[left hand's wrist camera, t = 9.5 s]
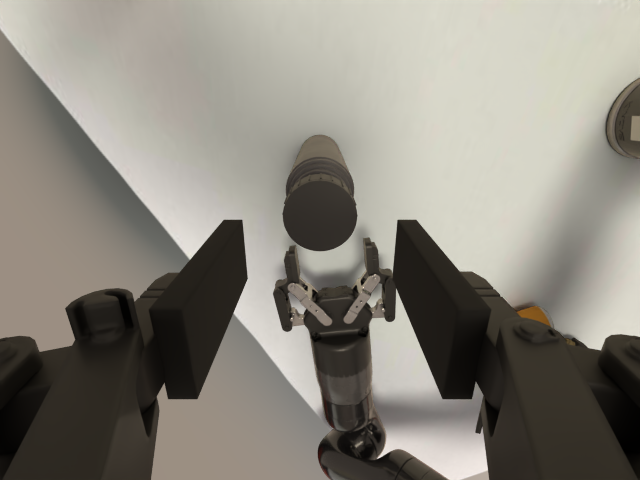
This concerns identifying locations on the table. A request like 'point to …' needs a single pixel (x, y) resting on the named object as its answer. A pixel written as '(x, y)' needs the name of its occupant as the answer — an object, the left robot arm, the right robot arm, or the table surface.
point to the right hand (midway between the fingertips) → (329, 244)
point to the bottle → (319, 162)
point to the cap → (319, 212)
